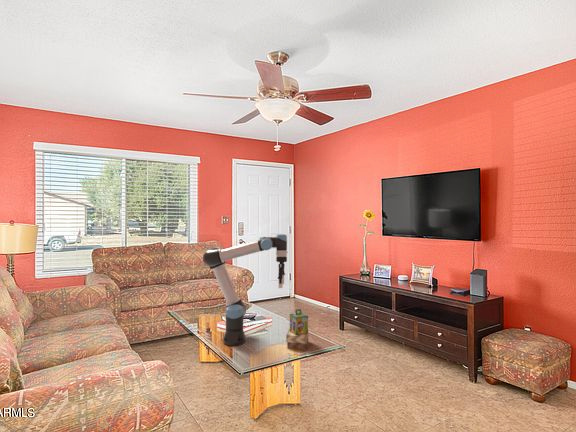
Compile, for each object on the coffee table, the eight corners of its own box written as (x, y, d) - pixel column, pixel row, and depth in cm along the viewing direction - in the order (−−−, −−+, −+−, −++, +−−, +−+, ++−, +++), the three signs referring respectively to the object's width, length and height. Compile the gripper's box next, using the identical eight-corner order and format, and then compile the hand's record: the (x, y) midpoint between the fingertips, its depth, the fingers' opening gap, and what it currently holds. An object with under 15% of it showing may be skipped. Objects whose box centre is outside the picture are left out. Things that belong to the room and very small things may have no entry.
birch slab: (286, 342, 226) (286, 335, 226) (289, 335, 238) (289, 328, 238) (306, 343, 224) (306, 336, 224) (308, 336, 237) (308, 329, 237)
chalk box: (296, 335, 225) (296, 312, 225) (289, 331, 233) (289, 309, 233) (308, 333, 230) (308, 310, 230) (300, 329, 238) (301, 307, 237)
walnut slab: (287, 349, 225) (287, 342, 225) (288, 342, 238) (288, 335, 238) (307, 350, 224) (307, 343, 224) (308, 342, 237) (308, 336, 237)
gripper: (285, 258, 237) (285, 289, 238) (288, 254, 262) (287, 282, 263) (274, 258, 238) (274, 289, 238) (278, 253, 263) (277, 282, 263)
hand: (281, 286), depth 250 cm, fingers open, 13 cm apart
